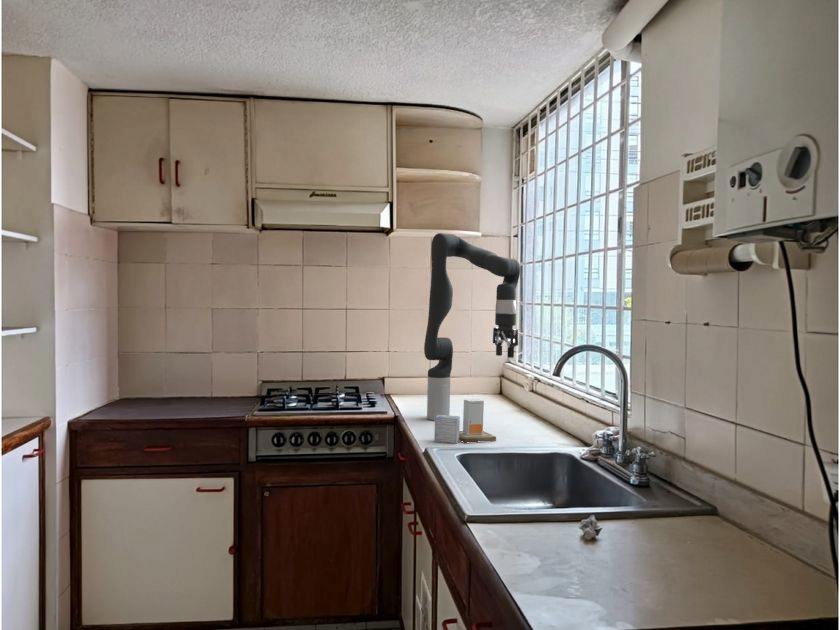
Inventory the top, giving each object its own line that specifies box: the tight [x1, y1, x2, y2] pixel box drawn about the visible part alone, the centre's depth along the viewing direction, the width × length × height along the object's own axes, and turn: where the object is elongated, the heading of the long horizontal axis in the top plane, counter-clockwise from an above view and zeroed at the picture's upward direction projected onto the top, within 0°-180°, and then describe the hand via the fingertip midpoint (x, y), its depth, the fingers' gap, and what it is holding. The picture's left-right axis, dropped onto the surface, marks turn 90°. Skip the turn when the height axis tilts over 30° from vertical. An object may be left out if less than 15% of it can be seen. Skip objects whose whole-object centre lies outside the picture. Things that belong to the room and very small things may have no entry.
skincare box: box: [462, 398, 485, 435], centre depth 215 cm, size 6×4×12 cm
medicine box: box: [433, 414, 461, 444], centre depth 210 cm, size 8×4×9 cm, turn 74°
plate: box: [459, 430, 497, 444], centre depth 215 cm, size 12×12×2 cm
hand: (504, 356), depth 225 cm, fingers open, 8 cm apart
